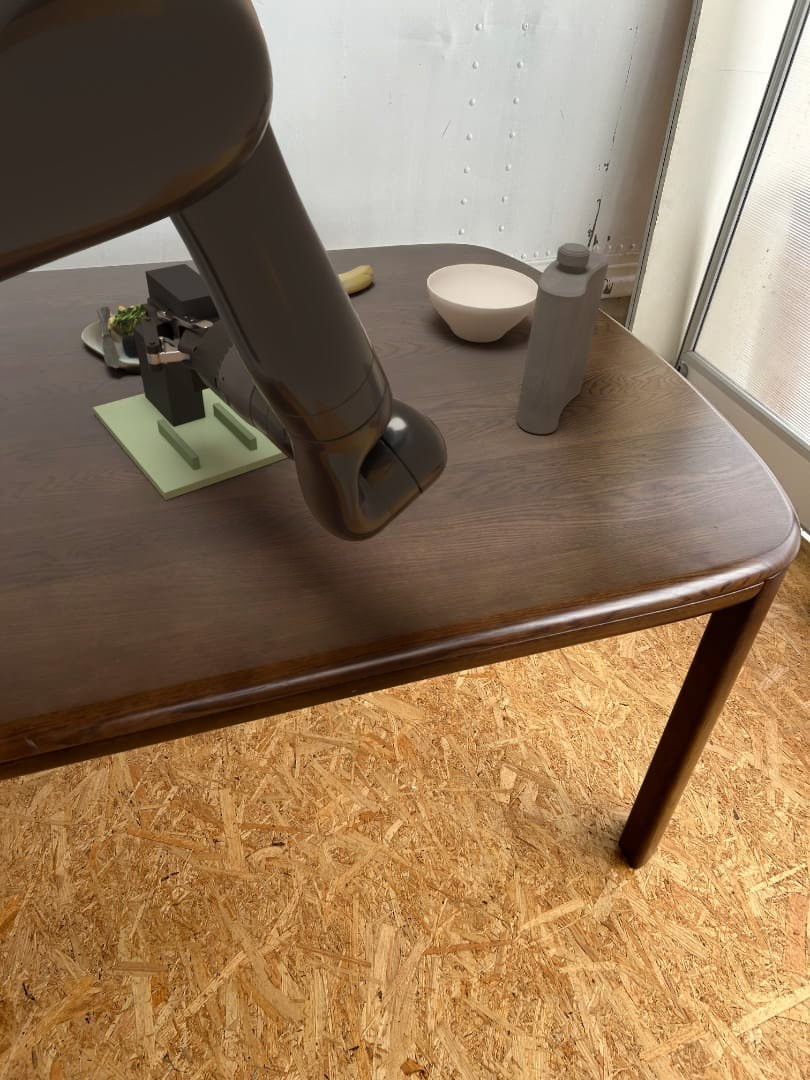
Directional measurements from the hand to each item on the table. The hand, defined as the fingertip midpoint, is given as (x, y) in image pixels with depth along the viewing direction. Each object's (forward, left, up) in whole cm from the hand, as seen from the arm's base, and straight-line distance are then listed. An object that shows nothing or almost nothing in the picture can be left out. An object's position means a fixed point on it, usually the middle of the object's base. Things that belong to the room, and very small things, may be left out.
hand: (174, 302), depth 75 cm
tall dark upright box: (+1, -3, -6) cm, 7 cm away
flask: (+44, -2, -18) cm, 47 cm away
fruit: (+29, +40, -18) cm, 53 cm away
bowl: (+45, +20, -18) cm, 52 cm away
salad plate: (0, +28, -18) cm, 34 cm away
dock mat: (+1, +5, -18) cm, 19 cm away
